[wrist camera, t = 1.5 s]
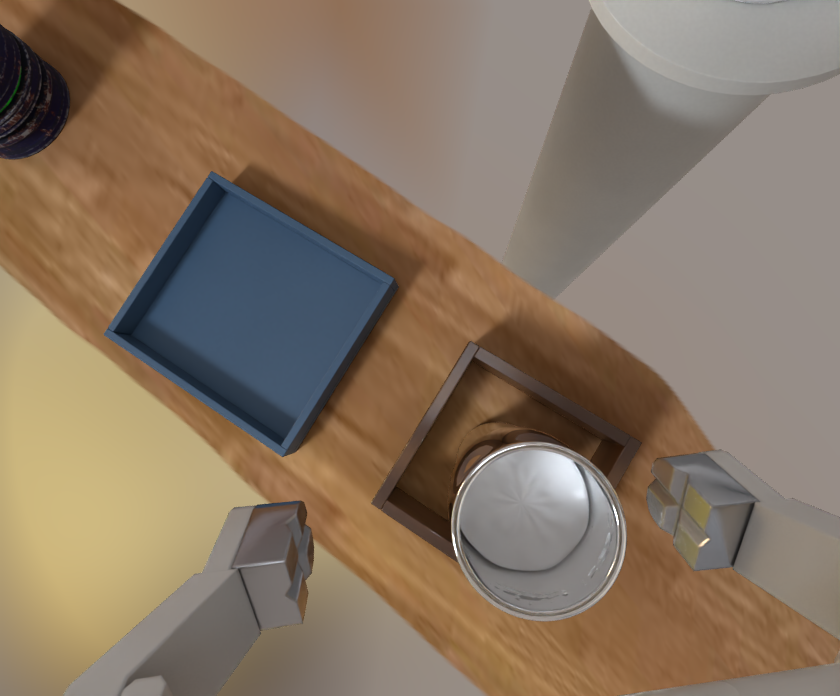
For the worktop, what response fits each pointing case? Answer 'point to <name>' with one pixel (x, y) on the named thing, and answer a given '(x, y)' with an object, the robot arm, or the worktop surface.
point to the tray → (252, 313)
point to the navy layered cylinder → (28, 99)
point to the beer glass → (534, 523)
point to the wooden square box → (615, 442)
